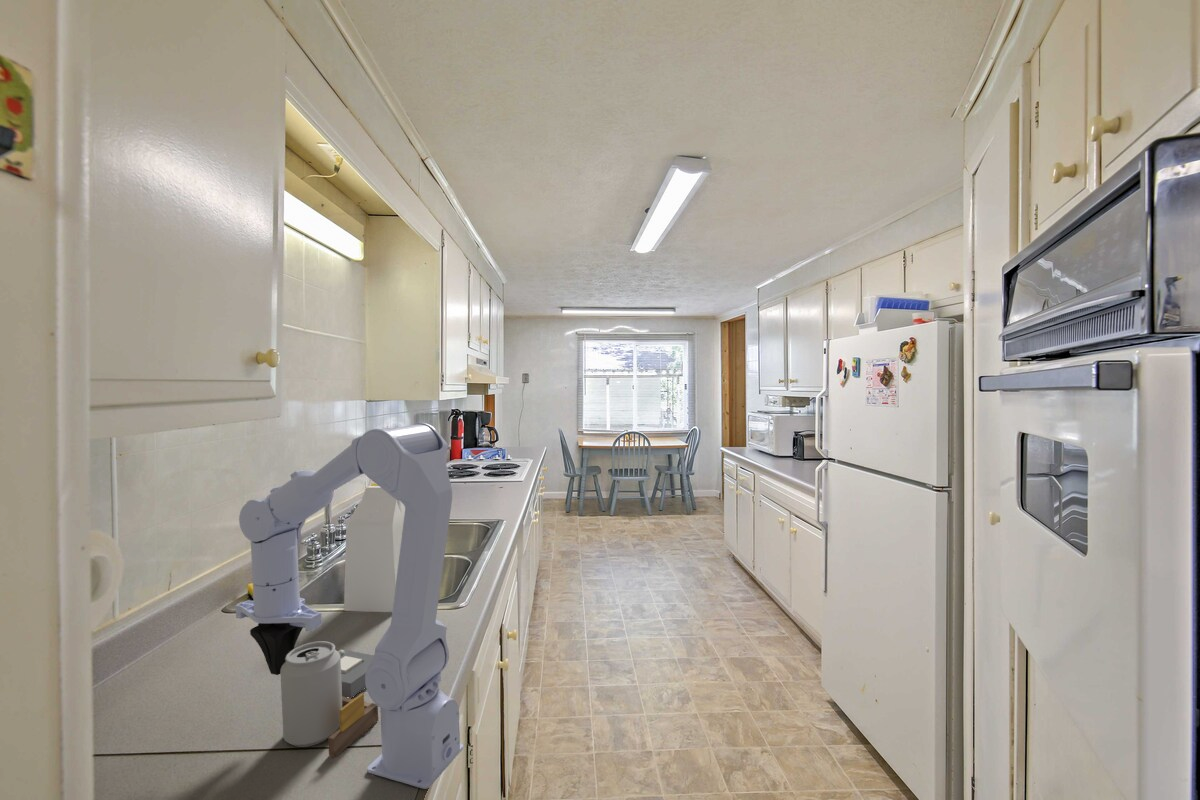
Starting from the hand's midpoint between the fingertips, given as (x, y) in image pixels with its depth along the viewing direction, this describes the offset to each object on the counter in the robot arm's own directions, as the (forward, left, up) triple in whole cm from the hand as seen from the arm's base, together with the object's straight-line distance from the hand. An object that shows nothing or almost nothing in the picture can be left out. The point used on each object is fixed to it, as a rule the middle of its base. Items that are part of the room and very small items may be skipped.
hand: (280, 670), depth 78 cm
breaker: (0, -12, -7) cm, 14 cm away
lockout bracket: (-8, -1, -8) cm, 11 cm away
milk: (+17, -40, -8) cm, 44 cm away
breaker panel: (0, -12, -8) cm, 14 cm away
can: (-6, 0, -8) cm, 10 cm away
